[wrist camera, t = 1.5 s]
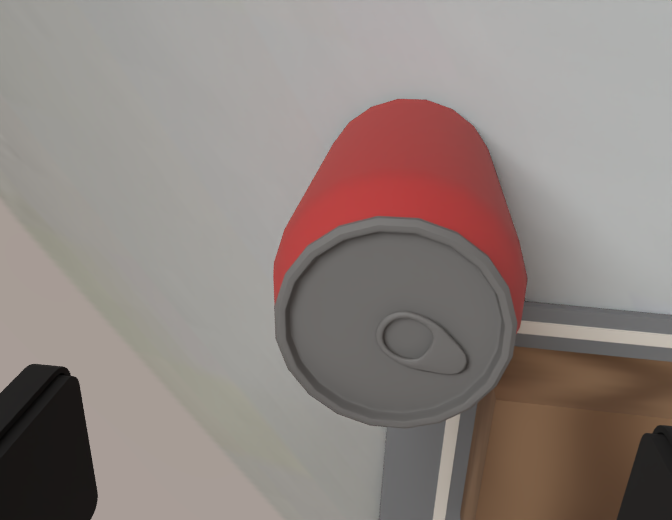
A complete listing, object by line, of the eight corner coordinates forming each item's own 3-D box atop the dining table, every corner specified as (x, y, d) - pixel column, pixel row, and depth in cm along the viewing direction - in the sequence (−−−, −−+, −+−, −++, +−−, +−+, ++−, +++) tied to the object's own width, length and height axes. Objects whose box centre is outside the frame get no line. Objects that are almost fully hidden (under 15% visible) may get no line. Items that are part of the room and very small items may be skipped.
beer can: (436, 280, 27) (441, 488, 16) (299, 207, 26) (209, 370, 15) (526, 147, 24) (605, 290, 13) (375, 63, 23) (329, 138, 13)
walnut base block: (730, 367, 26) (778, 430, 23) (668, 540, 30) (701, 616, 27) (486, 343, 27) (495, 399, 24) (460, 513, 31) (464, 583, 28)
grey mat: (846, 331, 25) (853, 337, 25) (740, 573, 31) (744, 581, 31) (398, 289, 27) (398, 295, 27) (378, 525, 33) (378, 532, 33)
